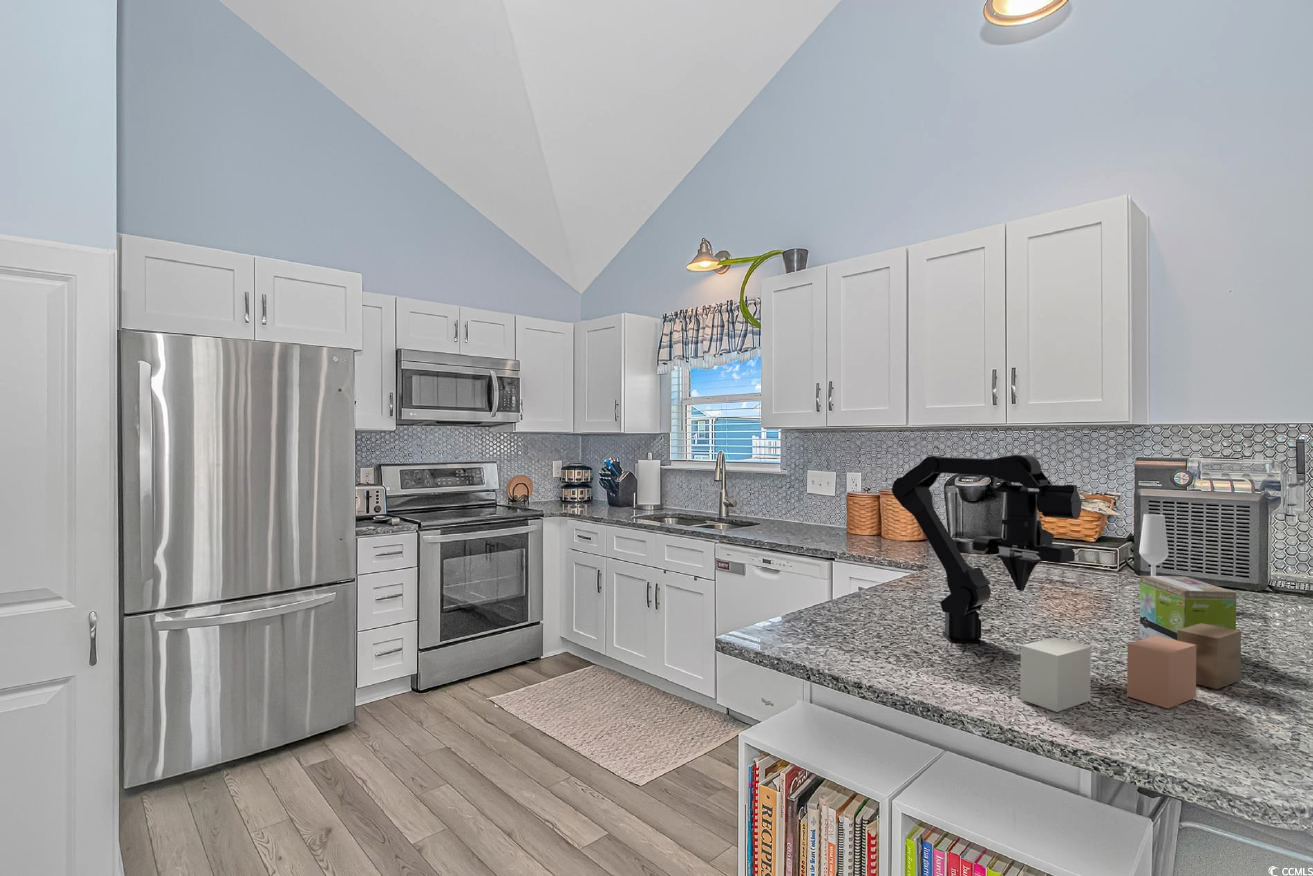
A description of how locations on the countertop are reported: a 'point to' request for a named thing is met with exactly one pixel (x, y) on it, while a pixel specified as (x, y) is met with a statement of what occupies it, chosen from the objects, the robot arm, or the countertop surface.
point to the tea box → (1182, 605)
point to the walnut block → (1214, 654)
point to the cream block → (1055, 673)
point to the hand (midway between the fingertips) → (1020, 590)
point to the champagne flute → (1153, 540)
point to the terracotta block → (1161, 671)
